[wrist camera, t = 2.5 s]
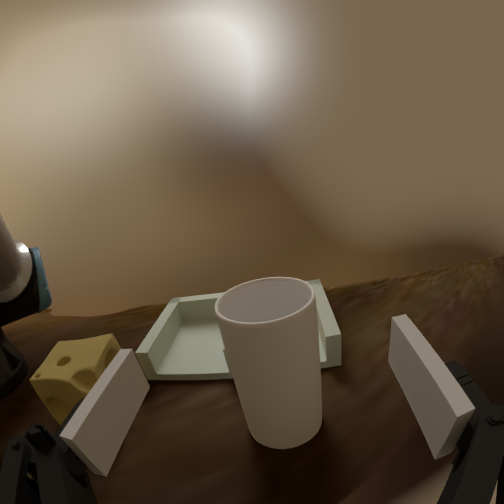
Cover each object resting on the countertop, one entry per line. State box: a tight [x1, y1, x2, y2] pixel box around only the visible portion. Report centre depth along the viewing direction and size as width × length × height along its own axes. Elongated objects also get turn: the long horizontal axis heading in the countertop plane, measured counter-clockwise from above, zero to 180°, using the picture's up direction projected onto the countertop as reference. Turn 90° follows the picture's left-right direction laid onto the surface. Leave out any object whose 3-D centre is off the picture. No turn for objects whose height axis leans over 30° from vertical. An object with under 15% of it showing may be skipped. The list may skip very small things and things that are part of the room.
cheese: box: [30, 334, 121, 425], centre depth 29 cm, size 10×11×10 cm
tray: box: [135, 279, 341, 380], centre depth 44 cm, size 18×28×6 cm, turn 87°
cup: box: [215, 277, 322, 449], centre depth 25 cm, size 8×8×16 cm
